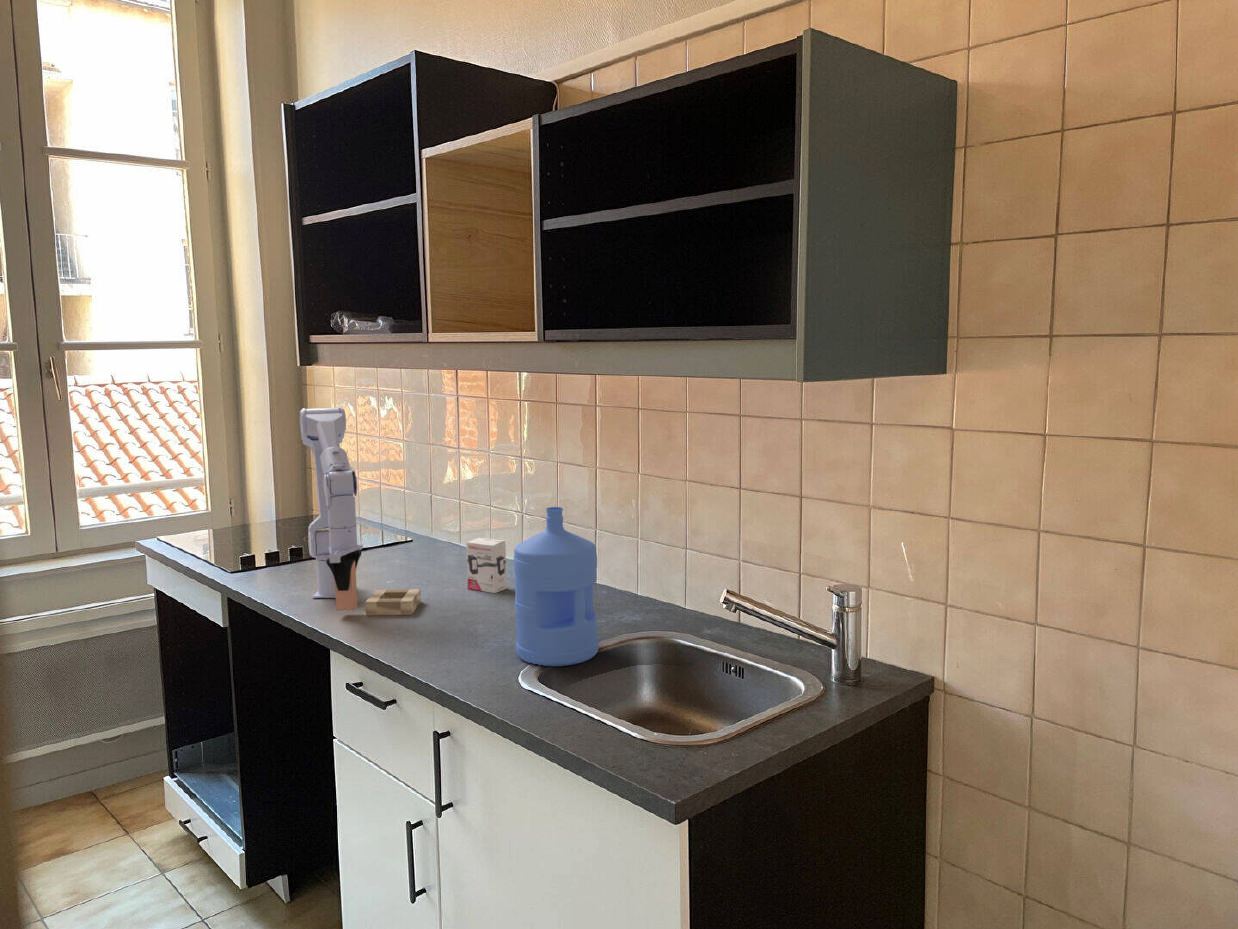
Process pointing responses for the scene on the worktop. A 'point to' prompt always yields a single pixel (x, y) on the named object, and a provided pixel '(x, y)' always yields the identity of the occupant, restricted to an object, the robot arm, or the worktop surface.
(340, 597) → the peg
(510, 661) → the worktop surface
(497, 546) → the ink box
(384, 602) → the socket block
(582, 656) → the water jug
